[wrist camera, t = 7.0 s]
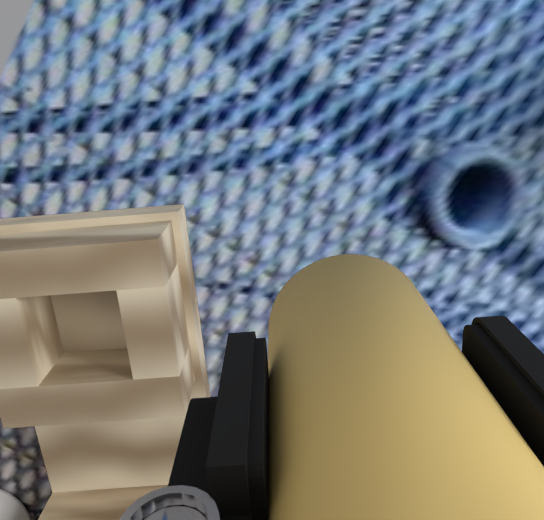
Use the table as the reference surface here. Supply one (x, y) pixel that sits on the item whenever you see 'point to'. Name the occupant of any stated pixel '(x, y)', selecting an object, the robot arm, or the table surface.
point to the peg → (383, 408)
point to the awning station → (100, 350)
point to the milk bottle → (12, 508)
